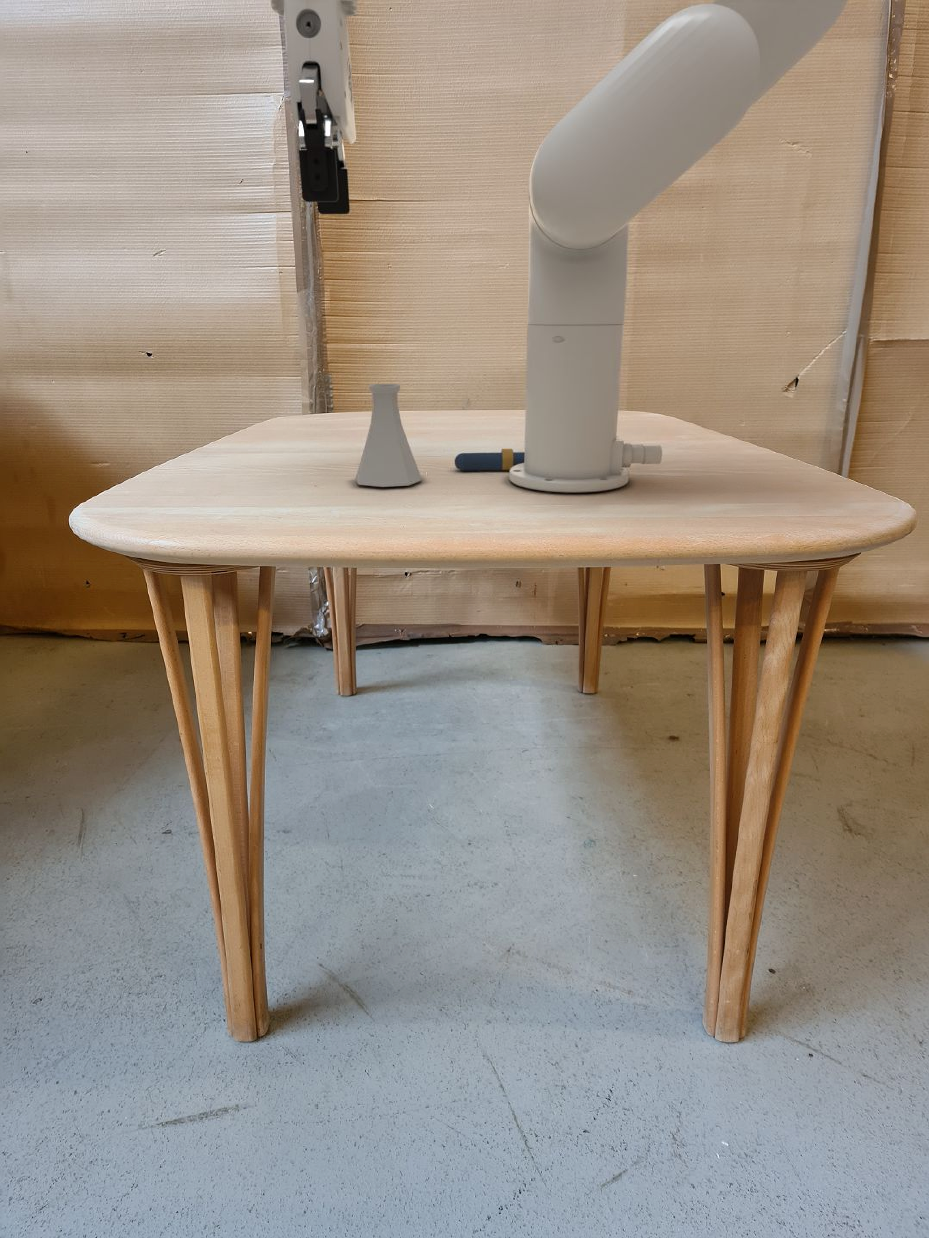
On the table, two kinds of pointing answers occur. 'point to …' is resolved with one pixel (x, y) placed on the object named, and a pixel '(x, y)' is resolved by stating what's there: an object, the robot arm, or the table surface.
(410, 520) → the table surface
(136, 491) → the table surface
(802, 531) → the table surface
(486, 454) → the dark blue marker
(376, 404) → the flask
